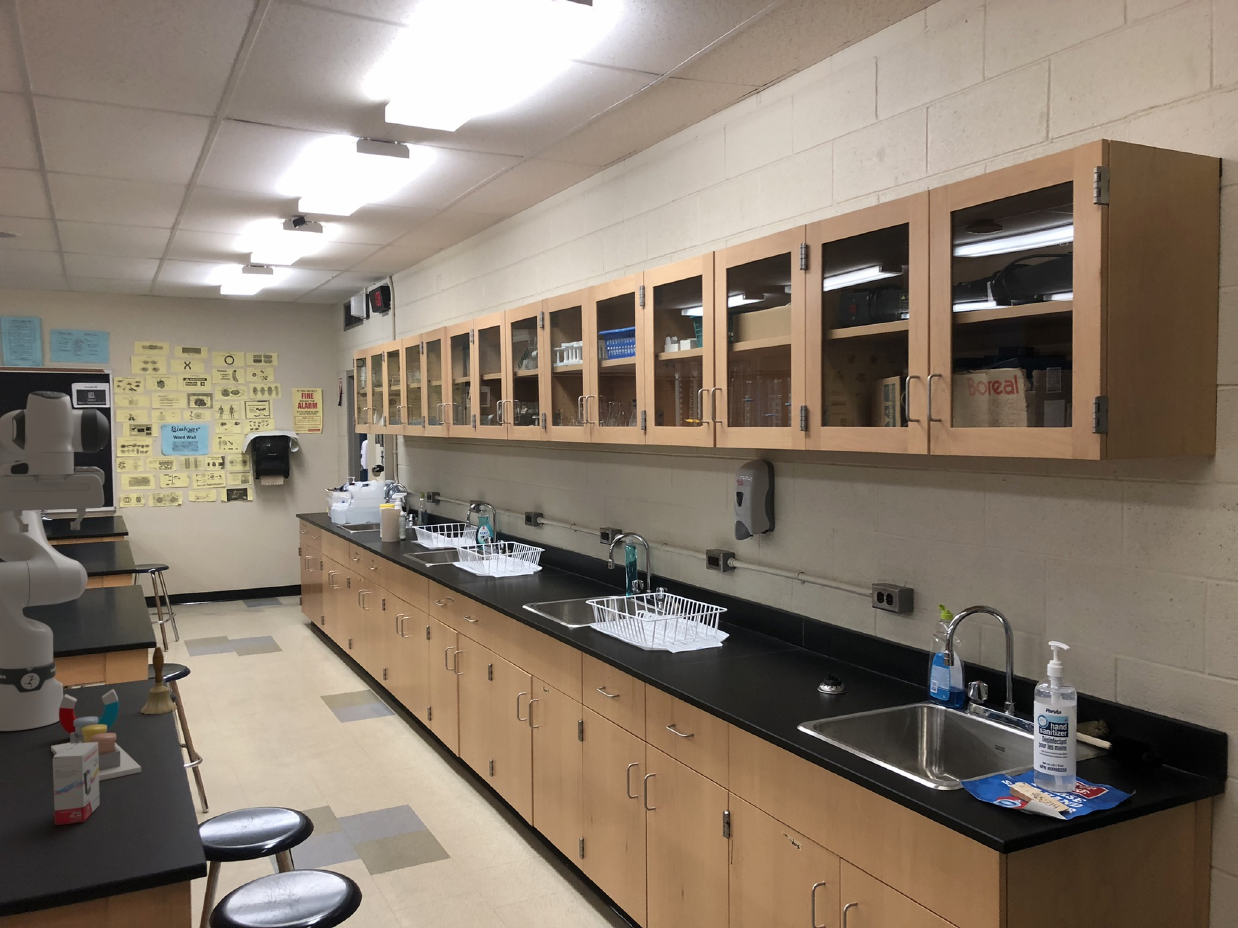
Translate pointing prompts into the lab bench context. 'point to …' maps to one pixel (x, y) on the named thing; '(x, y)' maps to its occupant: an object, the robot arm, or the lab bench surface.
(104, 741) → the terracotta button
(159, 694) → the hand bell
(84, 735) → the ochre button
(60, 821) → the ink box
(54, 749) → the console
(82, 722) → the slate button
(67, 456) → the robot arm
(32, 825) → the lab bench surface
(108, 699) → the magnet
